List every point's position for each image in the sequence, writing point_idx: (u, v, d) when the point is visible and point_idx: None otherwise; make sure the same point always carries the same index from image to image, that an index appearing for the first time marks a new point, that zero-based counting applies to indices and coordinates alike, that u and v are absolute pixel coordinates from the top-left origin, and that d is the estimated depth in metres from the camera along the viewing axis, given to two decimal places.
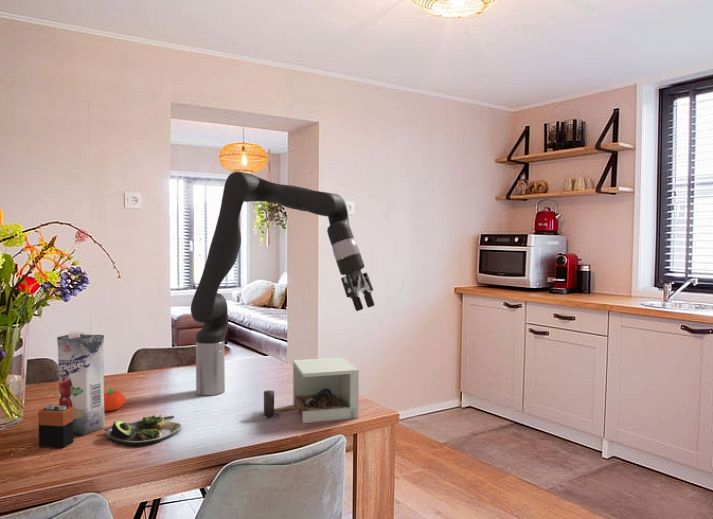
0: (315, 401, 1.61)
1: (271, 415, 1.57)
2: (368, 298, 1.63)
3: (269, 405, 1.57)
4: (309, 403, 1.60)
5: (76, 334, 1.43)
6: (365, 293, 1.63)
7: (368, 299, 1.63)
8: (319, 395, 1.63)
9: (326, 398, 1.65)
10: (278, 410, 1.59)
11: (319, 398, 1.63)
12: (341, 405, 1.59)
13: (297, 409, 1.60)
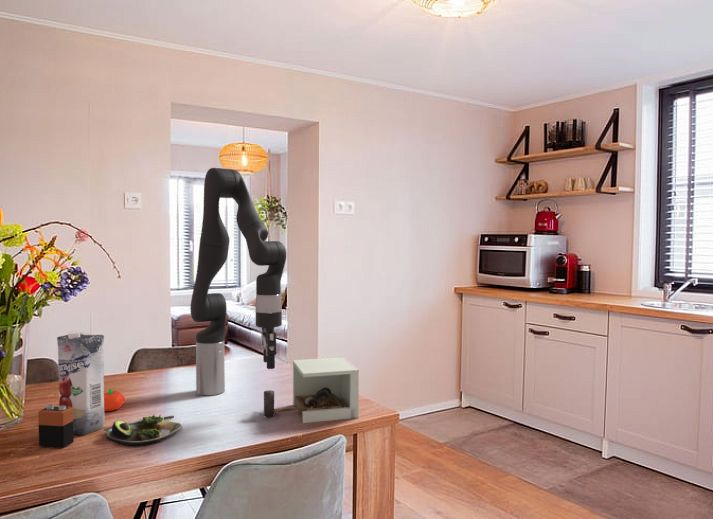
0: (315, 400, 1.62)
1: (271, 415, 1.57)
2: None
3: (269, 405, 1.57)
4: (309, 402, 1.61)
5: (76, 334, 1.43)
6: None
7: (267, 354, 1.62)
8: (319, 394, 1.64)
9: (325, 397, 1.66)
10: (278, 410, 1.59)
11: (319, 397, 1.64)
12: (341, 405, 1.59)
13: (297, 409, 1.60)
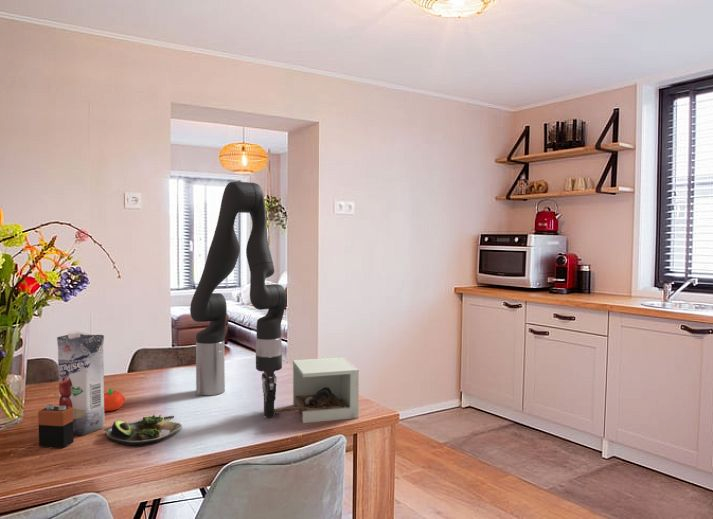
0: (315, 400, 1.62)
1: (271, 415, 1.57)
2: None
3: None
4: (309, 402, 1.61)
5: (76, 334, 1.43)
6: None
7: None
8: (319, 394, 1.64)
9: (326, 397, 1.66)
10: (278, 410, 1.59)
11: (319, 397, 1.64)
12: (341, 405, 1.59)
13: (297, 409, 1.60)
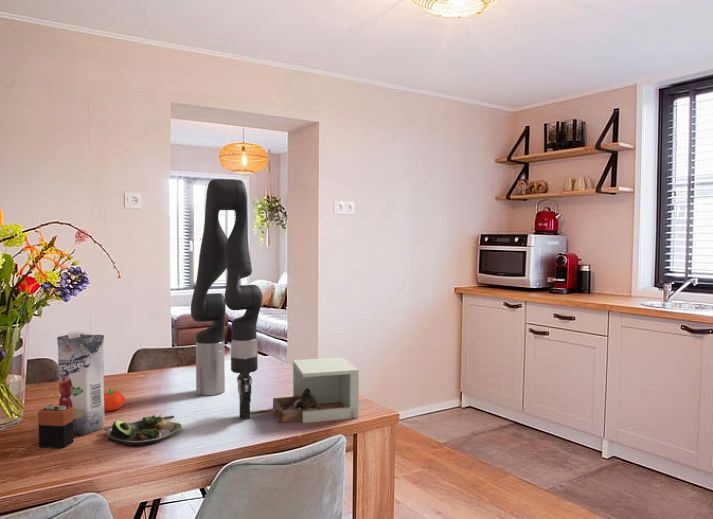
0: (302, 402, 1.60)
1: (247, 417, 1.55)
2: None
3: None
4: (296, 405, 1.58)
5: (76, 334, 1.43)
6: None
7: None
8: (303, 396, 1.62)
9: (307, 398, 1.64)
10: (254, 412, 1.57)
11: (303, 399, 1.62)
12: (318, 407, 1.57)
13: (273, 411, 1.59)
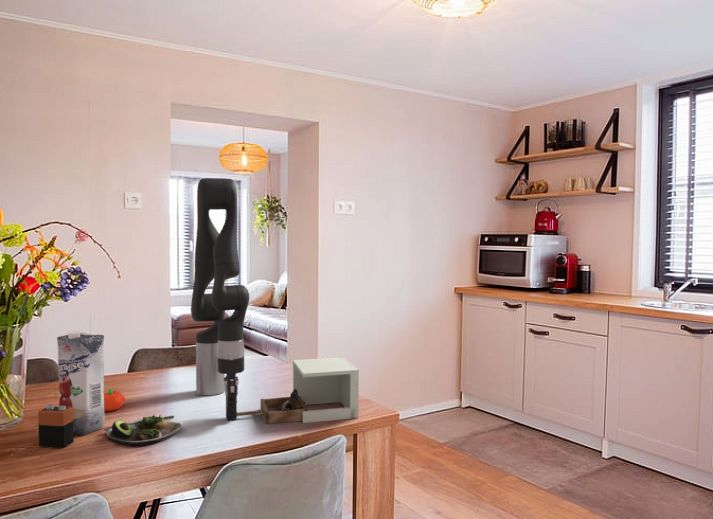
0: (290, 403, 1.59)
1: (233, 418, 1.54)
2: None
3: None
4: (285, 406, 1.57)
5: (76, 334, 1.43)
6: None
7: None
8: (291, 397, 1.61)
9: (295, 399, 1.63)
10: (241, 413, 1.56)
11: (291, 400, 1.61)
12: (305, 408, 1.56)
13: (260, 412, 1.57)
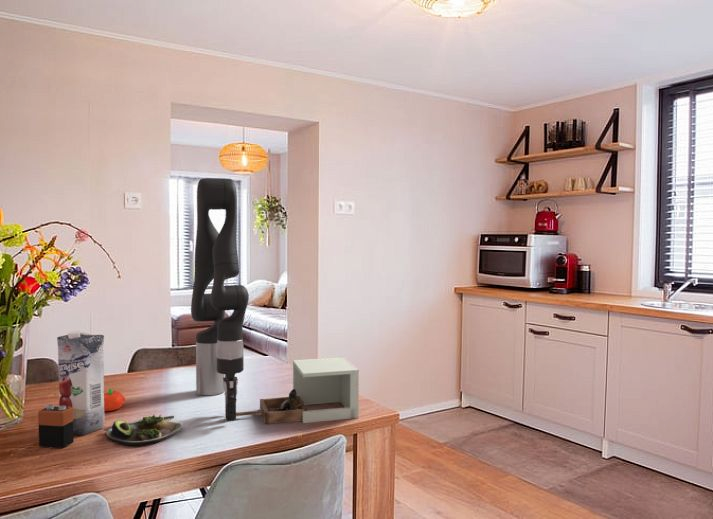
0: (289, 403, 1.59)
1: (232, 418, 1.54)
2: None
3: None
4: (284, 405, 1.58)
5: (76, 334, 1.43)
6: None
7: None
8: (289, 396, 1.62)
9: (294, 398, 1.64)
10: (240, 413, 1.56)
11: (290, 399, 1.61)
12: (304, 408, 1.56)
13: (260, 412, 1.57)
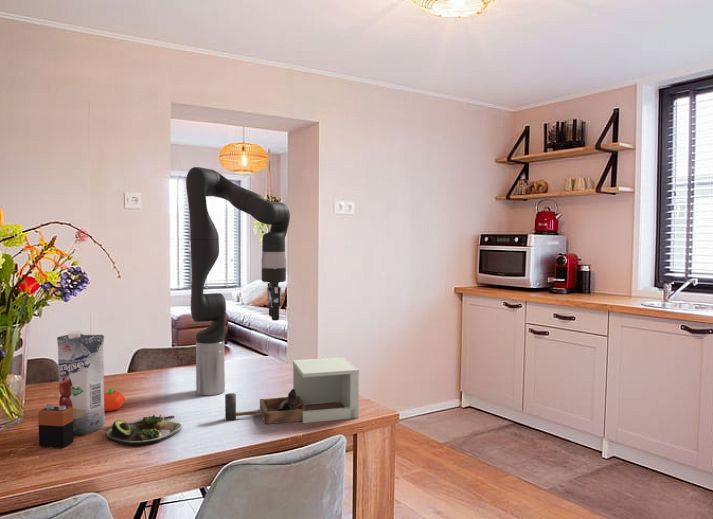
0: (288, 403, 1.59)
1: (232, 418, 1.54)
2: None
3: (231, 408, 1.54)
4: (283, 405, 1.58)
5: (76, 334, 1.43)
6: (271, 302, 1.73)
7: None
8: (289, 396, 1.62)
9: (293, 398, 1.64)
10: (240, 413, 1.56)
11: (289, 399, 1.61)
12: (304, 408, 1.56)
13: (260, 412, 1.57)
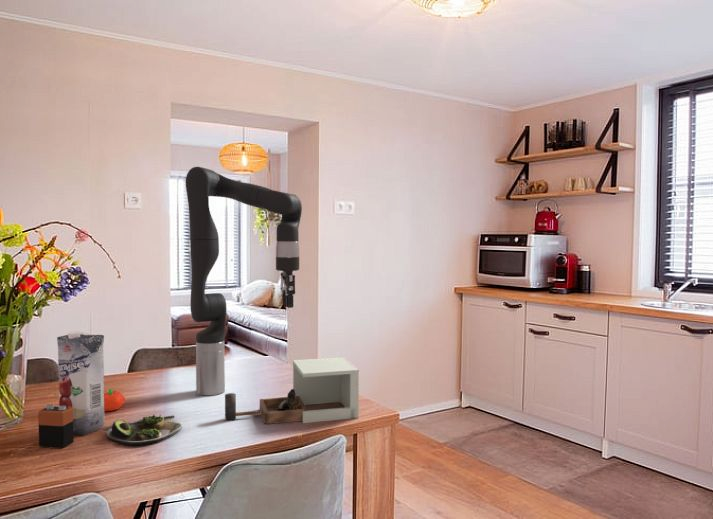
0: (287, 403, 1.59)
1: (232, 418, 1.54)
2: (286, 296, 1.79)
3: (231, 408, 1.54)
4: (282, 405, 1.58)
5: (76, 334, 1.43)
6: (284, 291, 1.79)
7: (285, 297, 1.79)
8: (288, 396, 1.62)
9: (292, 398, 1.64)
10: (240, 413, 1.56)
11: (288, 399, 1.61)
12: (304, 408, 1.56)
13: (259, 412, 1.57)
